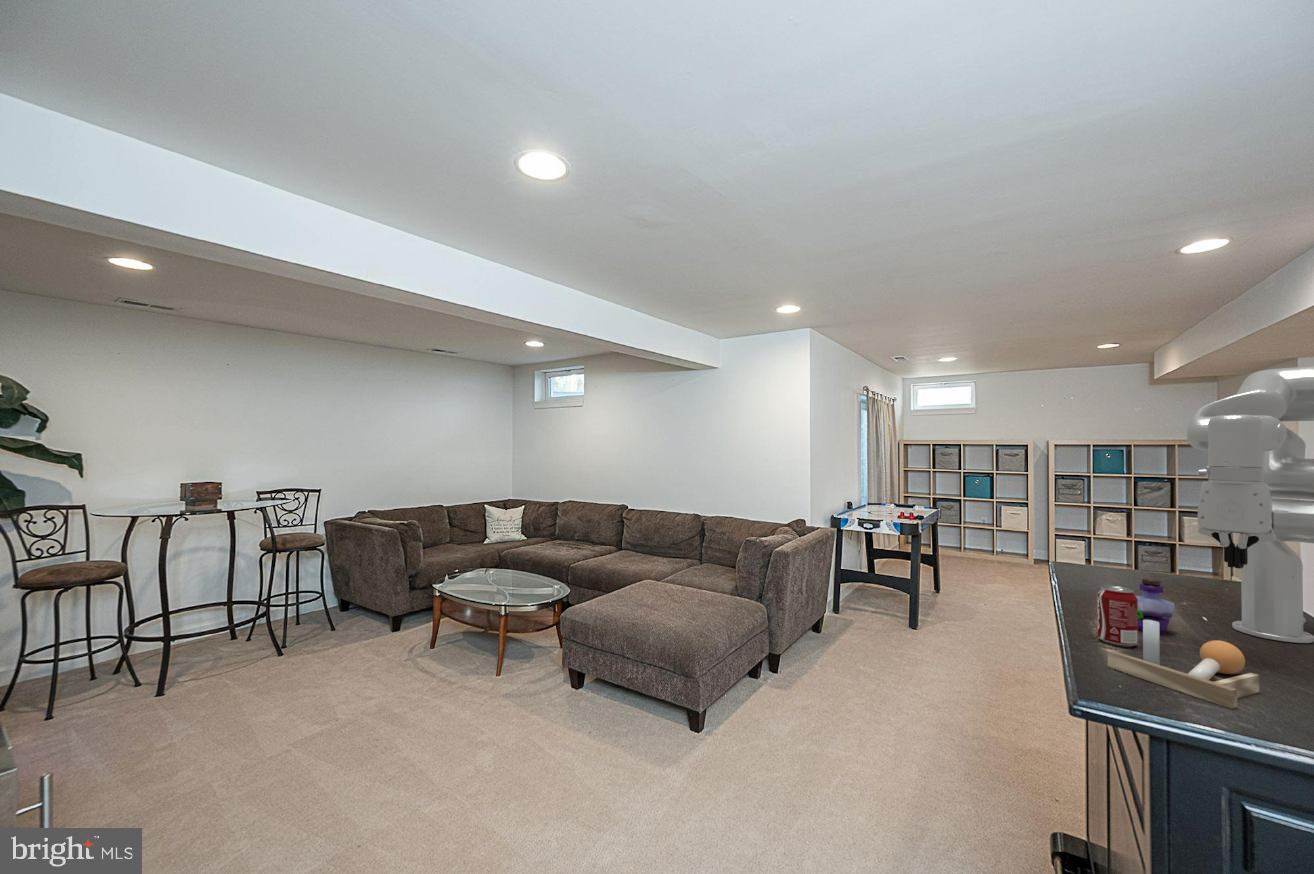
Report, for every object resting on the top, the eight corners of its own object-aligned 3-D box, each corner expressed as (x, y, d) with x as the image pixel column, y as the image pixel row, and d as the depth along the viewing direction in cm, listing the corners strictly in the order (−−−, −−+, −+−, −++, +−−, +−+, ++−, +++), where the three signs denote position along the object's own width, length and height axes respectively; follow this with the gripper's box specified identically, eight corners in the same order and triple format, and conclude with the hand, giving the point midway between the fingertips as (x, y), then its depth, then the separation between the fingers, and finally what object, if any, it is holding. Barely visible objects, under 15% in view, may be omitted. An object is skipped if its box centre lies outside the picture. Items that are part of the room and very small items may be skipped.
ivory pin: (1203, 655, 102) (1186, 670, 98) (1220, 662, 100) (1204, 677, 96) (1201, 667, 102) (1184, 682, 98) (1218, 673, 100) (1202, 689, 96)
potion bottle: (1119, 627, 130) (1119, 576, 130) (1137, 622, 134) (1137, 573, 134) (1166, 638, 122) (1165, 585, 123) (1183, 633, 126) (1183, 581, 126)
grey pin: (1147, 661, 108) (1147, 618, 109) (1162, 666, 106) (1162, 622, 106) (1140, 663, 108) (1140, 620, 108) (1155, 667, 105) (1154, 623, 105)
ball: (1195, 661, 103) (1203, 675, 106) (1241, 668, 98) (1248, 683, 101) (1196, 632, 106) (1204, 646, 108) (1240, 637, 101) (1248, 652, 103)
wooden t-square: (1149, 658, 110) (1149, 643, 110) (1275, 696, 93) (1275, 679, 93) (1107, 666, 105) (1107, 651, 106) (1232, 708, 89) (1231, 690, 89)
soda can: (1145, 649, 115) (1145, 593, 115) (1109, 647, 116) (1108, 591, 117) (1125, 639, 122) (1124, 585, 122) (1090, 636, 123) (1090, 583, 123)
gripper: (1178, 474, 114) (1179, 562, 114) (1285, 478, 101) (1286, 577, 101) (1191, 474, 118) (1192, 558, 117) (1296, 477, 105) (1297, 572, 104)
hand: (1235, 566), depth 109 cm, fingers closed
